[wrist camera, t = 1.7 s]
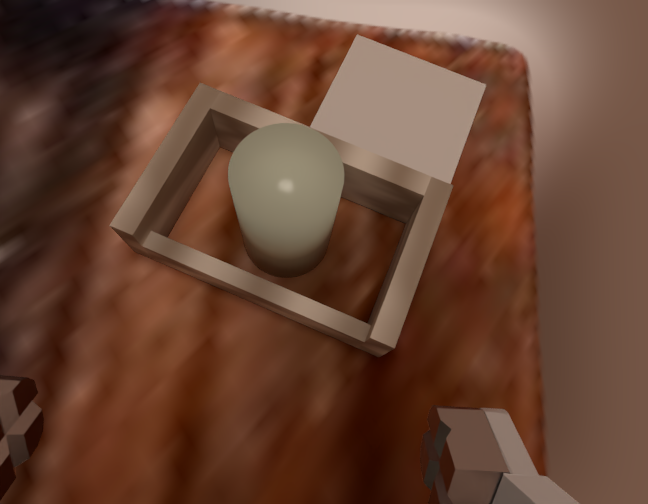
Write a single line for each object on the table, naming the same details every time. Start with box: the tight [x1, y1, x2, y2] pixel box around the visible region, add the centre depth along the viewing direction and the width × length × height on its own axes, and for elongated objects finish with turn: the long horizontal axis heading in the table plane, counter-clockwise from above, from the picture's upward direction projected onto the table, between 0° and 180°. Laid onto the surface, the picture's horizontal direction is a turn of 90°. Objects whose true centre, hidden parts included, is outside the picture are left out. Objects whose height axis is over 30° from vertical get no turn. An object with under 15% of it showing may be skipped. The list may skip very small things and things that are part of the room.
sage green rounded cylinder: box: [228, 123, 344, 278], centre depth 30 cm, size 6×6×10 cm
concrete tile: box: [310, 35, 486, 184], centre depth 39 cm, size 12×12×1 cm
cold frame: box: [110, 83, 453, 357], centre depth 33 cm, size 19×12×5 cm, turn 67°
